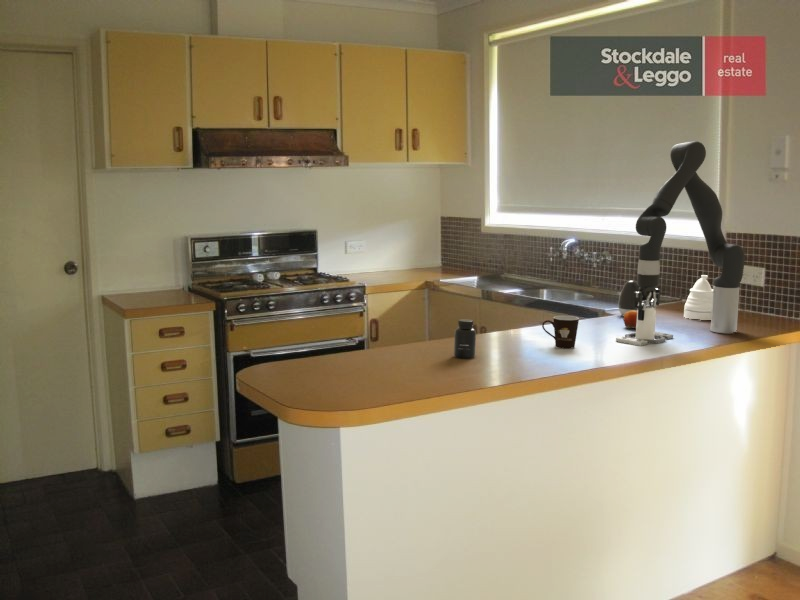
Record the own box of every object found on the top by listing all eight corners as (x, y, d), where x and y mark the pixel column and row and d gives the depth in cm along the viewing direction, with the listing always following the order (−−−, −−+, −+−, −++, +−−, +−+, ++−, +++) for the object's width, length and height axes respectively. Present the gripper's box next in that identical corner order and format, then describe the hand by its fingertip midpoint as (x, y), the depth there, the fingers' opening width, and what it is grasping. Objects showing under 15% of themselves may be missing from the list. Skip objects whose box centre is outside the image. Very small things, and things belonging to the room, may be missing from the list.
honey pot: (721, 320, 343) (724, 277, 340) (689, 320, 343) (692, 276, 340) (710, 315, 355) (713, 273, 353) (679, 315, 356) (682, 272, 353)
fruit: (621, 326, 320) (623, 306, 323) (623, 333, 327) (625, 314, 330) (643, 327, 317) (645, 308, 320) (644, 335, 324) (646, 316, 327)
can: (655, 341, 298) (657, 308, 297) (636, 340, 299) (638, 307, 298) (653, 338, 304) (655, 305, 303) (634, 337, 306) (636, 304, 304)
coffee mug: (582, 346, 289) (583, 318, 288) (569, 350, 283) (570, 321, 282) (553, 341, 297) (554, 313, 296) (540, 345, 291) (540, 316, 289)
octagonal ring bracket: (644, 333, 314) (645, 329, 314) (676, 338, 305) (677, 334, 305) (612, 340, 300) (612, 336, 300) (644, 346, 290) (645, 342, 290)
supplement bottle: (461, 360, 267) (461, 322, 266) (450, 355, 273) (450, 319, 272) (479, 357, 270) (480, 321, 269) (468, 353, 276) (468, 317, 275)
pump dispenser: (641, 319, 345) (643, 282, 343) (615, 317, 349) (617, 280, 347) (645, 315, 354) (647, 279, 352) (620, 313, 358) (621, 278, 356)
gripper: (649, 270, 306) (647, 315, 309) (628, 273, 297) (625, 320, 299) (668, 272, 301) (666, 318, 303) (647, 275, 291) (644, 322, 294)
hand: (646, 318), depth 301 cm, fingers open, 6 cm apart
